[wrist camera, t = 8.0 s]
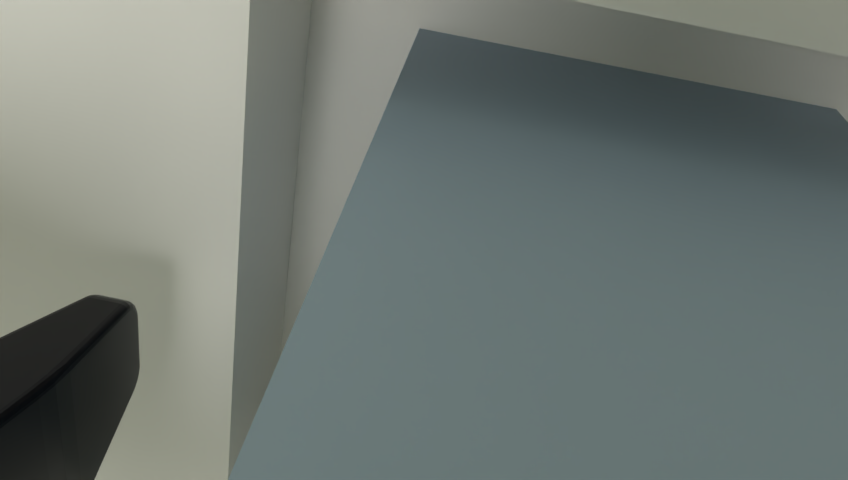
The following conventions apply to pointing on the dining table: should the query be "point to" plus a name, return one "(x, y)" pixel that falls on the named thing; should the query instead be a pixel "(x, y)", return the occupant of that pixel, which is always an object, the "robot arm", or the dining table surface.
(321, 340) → the block
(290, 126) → the well
